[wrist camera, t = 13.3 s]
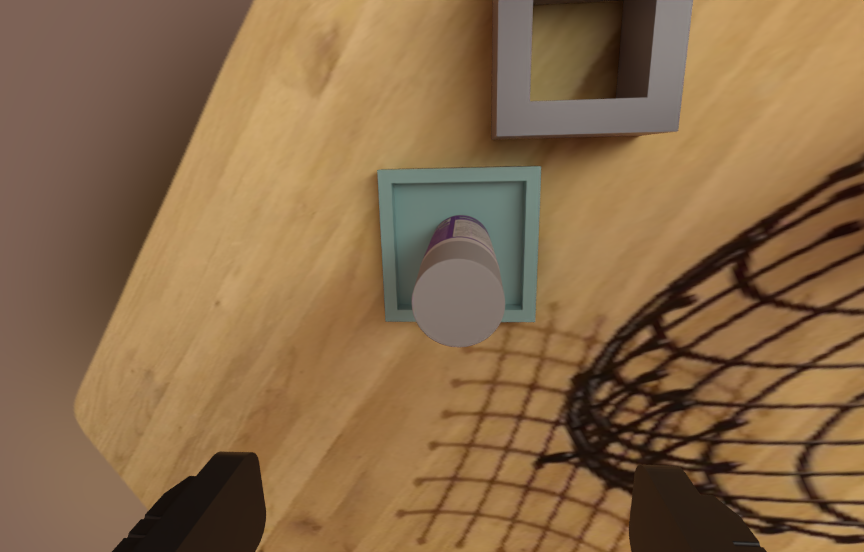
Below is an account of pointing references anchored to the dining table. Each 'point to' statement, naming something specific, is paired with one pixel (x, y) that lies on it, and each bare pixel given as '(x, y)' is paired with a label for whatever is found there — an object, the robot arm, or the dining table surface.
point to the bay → (636, 83)
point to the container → (459, 285)
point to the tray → (460, 195)
